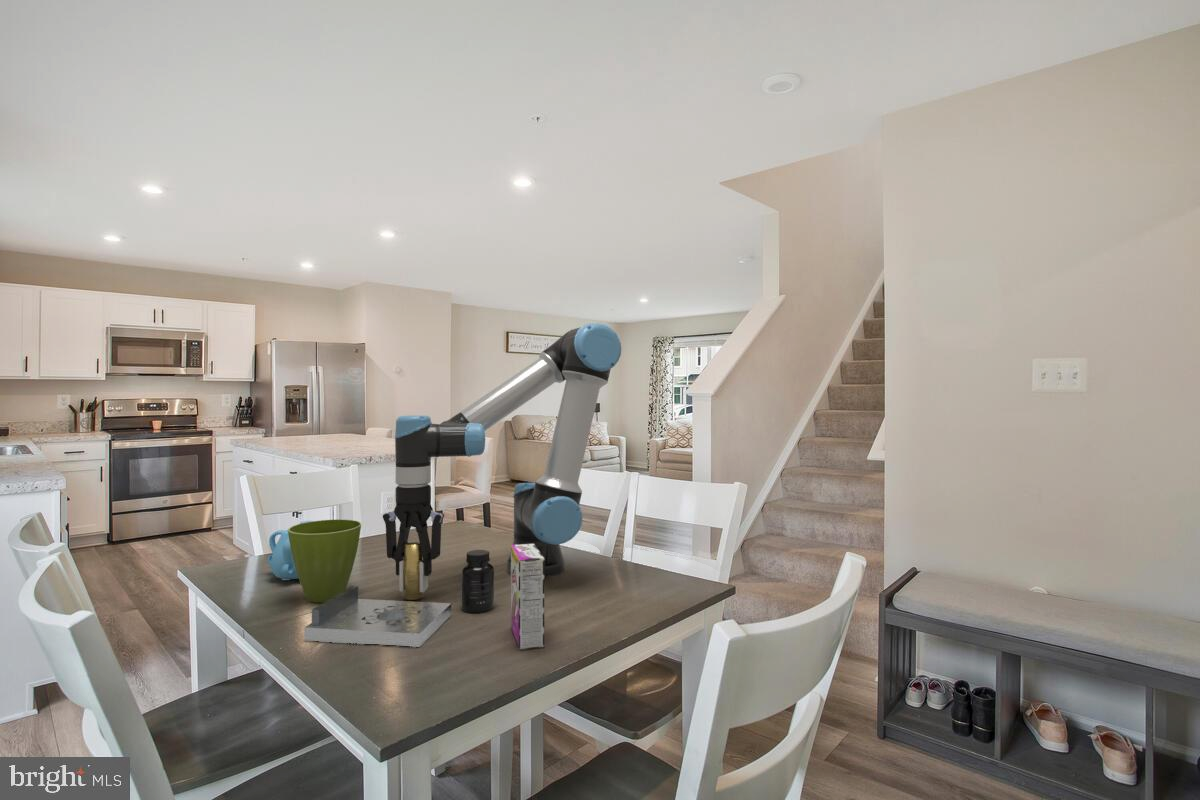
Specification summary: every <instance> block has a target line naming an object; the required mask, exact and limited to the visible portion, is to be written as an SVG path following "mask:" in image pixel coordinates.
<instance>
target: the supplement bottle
mask: <svg viewBox="0 0 1200 800" xmlns="http://www.w3.org/2000/svg"><path fill="white" fill-rule="evenodd" d="M490 560H491V559H490V551H488V550H486V549H473V550H469V551H467V552H466V561H465V562H466V564H465V565H464V566H463V567H462V569H461V609H462V610H463V611H464V612H465V613H469V612H470V614H481V612H482V613H486V612H488V611H490V610H492V609H493V608H494V603H495V567H494V565H492V563H490Z"/></svg>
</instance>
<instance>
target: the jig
mask: <svg viewBox="0 0 1200 800" xmlns="http://www.w3.org/2000/svg"><path fill="white" fill-rule="evenodd" d="M451 616H452V603H451V602H450V603H449V602H448V603H447V602H431V601H430V602H427V601H425V602H424V601H413V600H408V601H407V600H388V599H387V600H385V599H369V598H368V599H366V598H359V586H358V585H351V586H349V587H346V589H345V590H344V591H342V592H341V593H339V594H337V595H336V596H334V597H332V598H330V599H329V600H327V601H325V602H321V603H320V604H319V605H317V606H314V607H313V608H312V609H311V623H309V624H308V625H306V626H304V628H303V632H304V634H303V635H304V636H303V641H304V642H312V641H319V642H318V643H329V642H332V643H333V644H347V643H348V644H349V643H351V644H352V645H364V644H383V645H385V644H386V645H401V646H402V645H403V646H410V647H409V648H416V647H419V648H420V647H421V646H423V644H425V643H426V642H427V641H428V639H429V638H430V637H432V636H433V634H434V633H435V632H436V631H437V630H438V629H440V627H441V626H442V625H443V624H444V623H446V621H447V620H448V619H450V617H451ZM353 643H354V644H353ZM355 643H357V644H355ZM348 644H347V645H348ZM351 644H350V645H351ZM411 646H412V647H411Z"/></svg>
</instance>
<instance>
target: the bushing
mask: <svg viewBox="0 0 1200 800" xmlns="http://www.w3.org/2000/svg"><path fill="white" fill-rule="evenodd" d="M422 560H423V557H422V552H421V547H420V542H419V540H410V541H407V542H406V543H404V591H403V592H404V597H403V598H404V600H406V601H407V600H408V601H414V600H415V601H416V600H419V599H422V598H423V597H424V592H420V562H421V561H422Z"/></svg>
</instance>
